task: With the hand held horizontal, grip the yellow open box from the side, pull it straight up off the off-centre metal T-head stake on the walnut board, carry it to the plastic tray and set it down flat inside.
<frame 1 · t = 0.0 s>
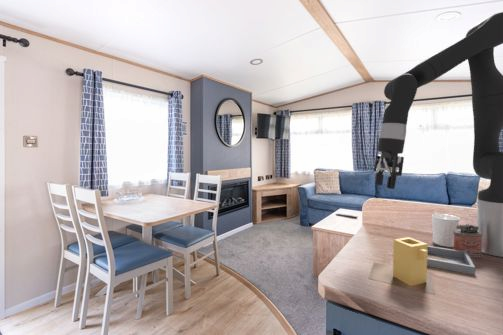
hand: (383, 186, 82), 22 cm above the worktop, tool pointing down, fingers open, 8 cm apart
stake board: (400, 279, 65), on the worktop
yellow open box: (409, 279, 64), point 1 cm above the worktop, touching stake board
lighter: (467, 255, 80), on the worktop
white cup: (444, 244, 89), on the worktop
tray: (444, 264, 73), on the worktop
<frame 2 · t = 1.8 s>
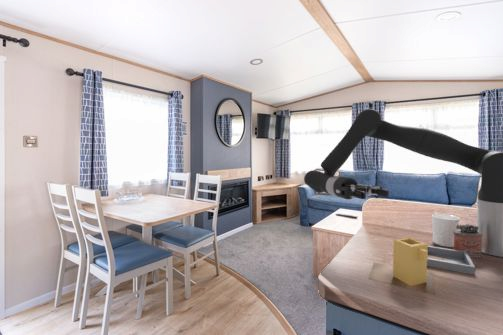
hand: (376, 194, 73), 21 cm above the worktop, tool horizontal, fingers open, 8 cm apart
nothing on the worktop moved.
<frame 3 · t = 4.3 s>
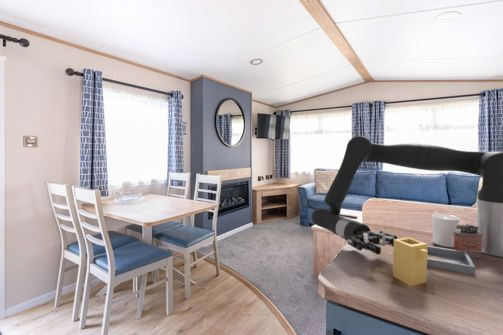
hand: (392, 248, 69), 7 cm above the worktop, tool horizontal, fingers open, 8 cm apart
nothing on the worktop moved.
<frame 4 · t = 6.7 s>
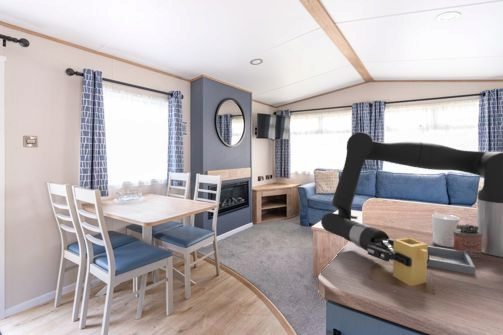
hand: (419, 260, 61), 7 cm above the worktop, tool horizontal, fingers closed on yellow open box, 5 cm apart
yellow open box: (409, 279, 64), point 1 cm above the worktop, touching gripper, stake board
everything else where it was.
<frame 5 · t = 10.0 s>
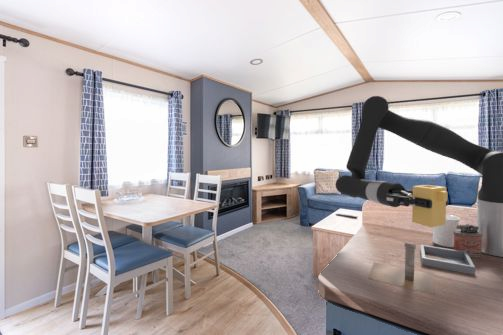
hand: (439, 203, 63), 21 cm above the worktop, tool horizontal, fingers closed on yellow open box, 5 cm apart
yellow open box: (428, 223, 66), point 15 cm above the worktop, touching gripper
everything else where it was.
when the fingers open (8 cm above the worktop, at t = 13.6 s): yellow open box drops 2 cm, resting on tray.
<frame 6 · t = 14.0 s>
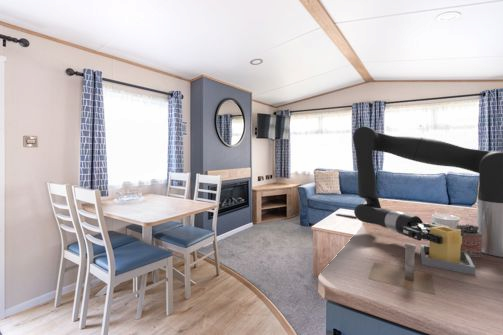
hand: (452, 238, 71), 9 cm above the worktop, tool horizontal, fingers open, 8 cm apart
yellow open box: (444, 261, 73), point 1 cm above the worktop, touching tray
everything else where it was.
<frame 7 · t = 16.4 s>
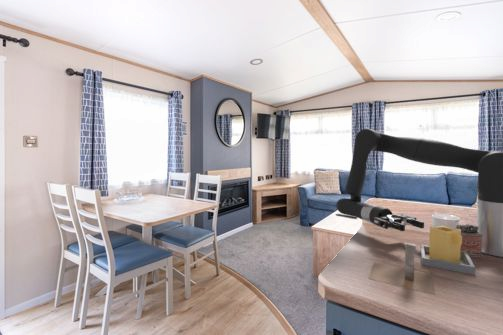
hand: (413, 226, 82), 9 cm above the worktop, tool horizontal, fingers open, 8 cm apart
nothing on the worktop moved.
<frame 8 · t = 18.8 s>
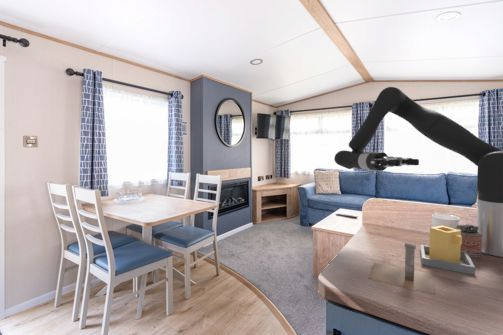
hand: (408, 162, 85), 30 cm above the worktop, tool horizontal, fingers open, 8 cm apart
nothing on the worktop moved.
at the end: yellow open box inside the target area on the tray (0.1 cm from its centre), point 0.8 cm above the tray's base; yellow open box tilted 0°; the gripper is holding nothing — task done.
